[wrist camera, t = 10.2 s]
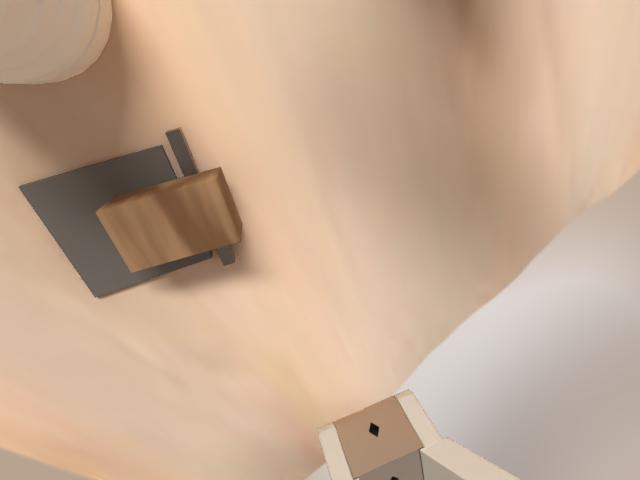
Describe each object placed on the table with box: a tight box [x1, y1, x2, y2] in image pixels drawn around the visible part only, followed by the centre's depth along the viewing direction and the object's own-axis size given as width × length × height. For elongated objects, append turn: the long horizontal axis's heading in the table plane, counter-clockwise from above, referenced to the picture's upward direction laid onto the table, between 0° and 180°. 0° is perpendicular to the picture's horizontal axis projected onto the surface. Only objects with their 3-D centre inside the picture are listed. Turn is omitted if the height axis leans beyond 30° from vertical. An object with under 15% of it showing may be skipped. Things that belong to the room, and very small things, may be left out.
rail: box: [166, 128, 235, 266], centre depth 33 cm, size 1×14×1 cm, turn 15°
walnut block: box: [95, 167, 242, 273], centre depth 31 cm, size 4×6×10 cm
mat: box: [19, 145, 212, 298], centre depth 32 cm, size 12×12×1 cm
